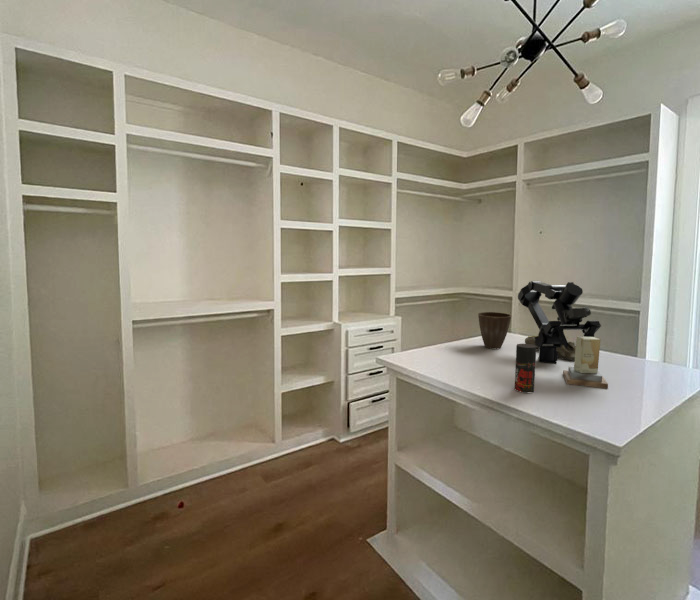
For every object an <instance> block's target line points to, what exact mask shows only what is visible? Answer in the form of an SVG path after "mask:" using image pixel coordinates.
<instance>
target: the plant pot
mask: <svg viewBox="0 0 700 600" xmlns="http://www.w3.org/2000/svg"><path fill="white" fill-rule="evenodd" d="M477 315H478V316H477V317H478V325H479V330H480V335H481V339H482V342H483V346H484V348H487V349H492V348H496V349H495V350H498V349H497V348H499V349H501V348H502V346H503V345H504V342H505V340H506V337H507V335H508V332H509V328H510V325H511V321H512V320H511V319H512V315H511V314H510V313H505V312H504V313H503V312H495V311H484V312H479V313H478V314H477Z"/></svg>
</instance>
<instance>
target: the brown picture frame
mask: <svg viewBox="0 0 700 600" xmlns="http://www.w3.org/2000/svg"><path fill="white" fill-rule="evenodd" d="M562 374H563V377H564V380H565V382H566V385H572V384H573V385H574V386H575V385H576V386H582V385H584V387H590V388H591V387H593V388H602V389H608V388H609V383H608V382H607V381H606V379H605V378H604V377H603V375H602V374H601V372H600V371H599V370H598V373H580V372H578V371H576V370H574V366H568V370H562Z"/></svg>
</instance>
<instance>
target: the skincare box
mask: <svg viewBox="0 0 700 600" xmlns="http://www.w3.org/2000/svg"><path fill="white" fill-rule="evenodd" d="M575 346H576V350H575V361H574V362H573V363H574V364H573V367H574V370H576V371H578V372H580V373H598V371H599V360H600V349H601V339H600V338H597V337H595V336H594V337H584V336H576V341H575Z"/></svg>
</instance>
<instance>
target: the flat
mask: <svg viewBox="0 0 700 600" xmlns="http://www.w3.org/2000/svg"><path fill="white" fill-rule="evenodd" d="M537 337H538V335H528V337H526V338H524V344H531V345H535V340H536V338H537ZM567 342H568V345H569V347H568V348H566V347H565V346H564V345H563V344H562V345H561V348H559V347H556V348H557V351H558V356H559V357H558V358H560V359H562V358H563V359H562V360H565V359H566V360H567V361H574V360H575V350H576V342H574V341H567ZM535 346H536V345H535ZM537 349H539V347H538V346H536V350H537Z"/></svg>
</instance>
